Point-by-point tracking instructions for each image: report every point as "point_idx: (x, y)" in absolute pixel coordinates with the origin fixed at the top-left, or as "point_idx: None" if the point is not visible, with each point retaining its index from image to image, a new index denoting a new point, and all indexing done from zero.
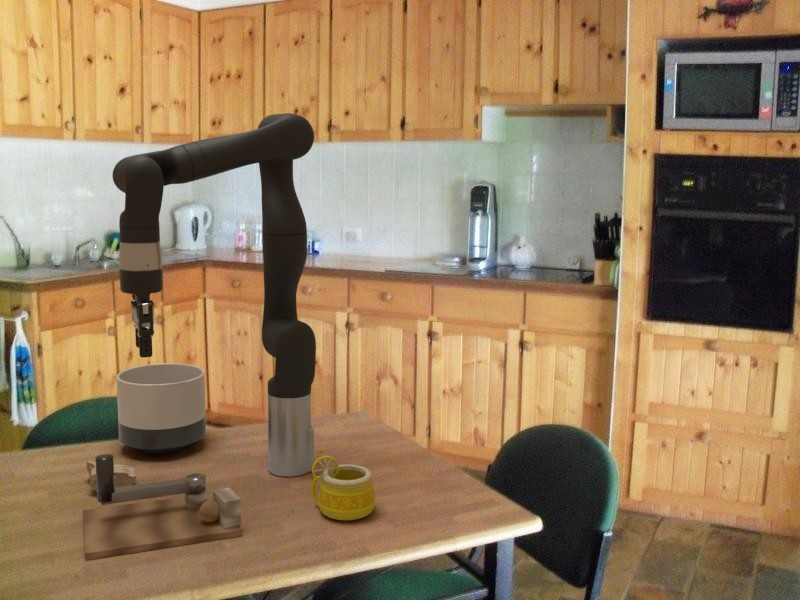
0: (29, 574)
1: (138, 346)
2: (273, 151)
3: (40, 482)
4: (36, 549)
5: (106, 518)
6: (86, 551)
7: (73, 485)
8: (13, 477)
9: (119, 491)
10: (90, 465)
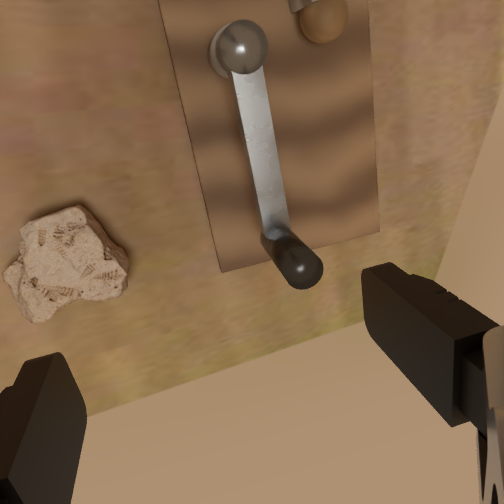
0: None
1: (80, 406)
2: None
3: None
4: (323, 301)
5: None
6: (373, 231)
7: (70, 321)
8: None
9: (284, 216)
10: (56, 311)
